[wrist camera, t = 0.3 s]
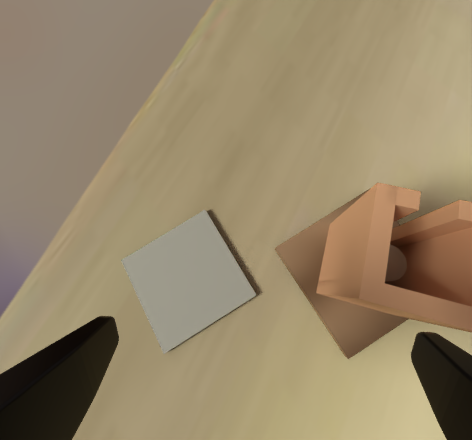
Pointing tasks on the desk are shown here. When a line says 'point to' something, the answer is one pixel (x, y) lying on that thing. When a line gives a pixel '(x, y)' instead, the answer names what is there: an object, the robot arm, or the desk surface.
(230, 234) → the desk surface
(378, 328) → the stand
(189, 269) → the mat
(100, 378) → the robot arm
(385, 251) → the c link
